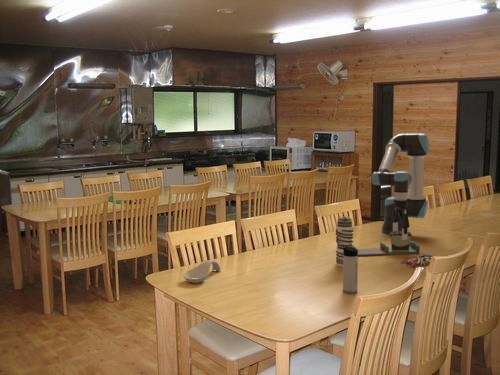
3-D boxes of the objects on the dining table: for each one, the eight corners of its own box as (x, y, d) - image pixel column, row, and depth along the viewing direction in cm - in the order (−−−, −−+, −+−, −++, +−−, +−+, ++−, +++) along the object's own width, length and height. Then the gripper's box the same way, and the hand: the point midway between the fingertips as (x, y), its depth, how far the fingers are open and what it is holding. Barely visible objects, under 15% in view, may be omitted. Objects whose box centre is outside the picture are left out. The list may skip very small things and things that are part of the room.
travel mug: (340, 289, 225) (340, 245, 222) (355, 288, 225) (355, 245, 223) (344, 294, 219) (344, 249, 216) (359, 293, 219) (359, 249, 216)
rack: (350, 250, 288) (350, 242, 287) (410, 248, 291) (410, 240, 290) (356, 256, 276) (357, 248, 275) (419, 253, 279) (419, 245, 279)
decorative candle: (356, 263, 263) (357, 216, 259) (347, 268, 256) (347, 219, 252) (341, 260, 269) (342, 214, 265) (332, 264, 262) (332, 217, 258)
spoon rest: (199, 287, 232) (198, 272, 231) (178, 283, 237) (178, 269, 236) (226, 273, 252) (226, 259, 251) (206, 269, 258) (206, 256, 257)
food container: (409, 247, 287) (409, 230, 286) (411, 250, 281) (412, 233, 280) (387, 247, 288) (387, 230, 287) (389, 250, 282) (389, 233, 281)
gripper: (386, 195, 292) (385, 231, 295) (403, 203, 267) (402, 242, 271) (398, 195, 293) (397, 230, 296) (416, 203, 268) (415, 241, 271)
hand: (399, 236), depth 283 cm, fingers open, 13 cm apart
